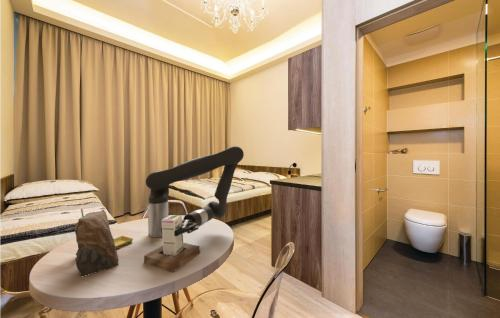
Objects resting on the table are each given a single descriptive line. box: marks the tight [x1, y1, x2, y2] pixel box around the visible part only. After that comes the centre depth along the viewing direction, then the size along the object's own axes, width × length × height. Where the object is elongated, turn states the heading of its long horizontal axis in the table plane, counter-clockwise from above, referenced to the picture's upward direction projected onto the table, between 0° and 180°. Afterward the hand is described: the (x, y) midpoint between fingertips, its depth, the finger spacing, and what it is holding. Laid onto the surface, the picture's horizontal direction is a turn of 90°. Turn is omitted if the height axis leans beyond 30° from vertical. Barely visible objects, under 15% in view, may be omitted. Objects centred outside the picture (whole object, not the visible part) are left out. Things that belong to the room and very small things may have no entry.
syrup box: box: [161, 214, 184, 257], centre depth 83 cm, size 6×6×14 cm
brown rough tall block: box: [74, 209, 119, 277], centre depth 78 cm, size 13×13×20 cm
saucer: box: [113, 235, 134, 249], centre depth 97 cm, size 9×9×2 cm
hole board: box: [143, 242, 201, 273], centre depth 83 cm, size 15×15×3 cm
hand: (168, 232), depth 81 cm, fingers closed on syrup box, 6 cm apart
